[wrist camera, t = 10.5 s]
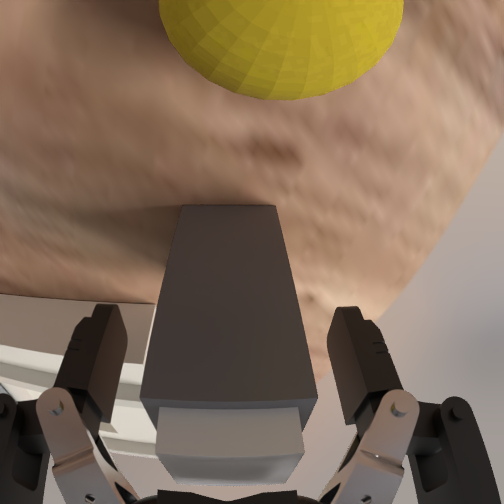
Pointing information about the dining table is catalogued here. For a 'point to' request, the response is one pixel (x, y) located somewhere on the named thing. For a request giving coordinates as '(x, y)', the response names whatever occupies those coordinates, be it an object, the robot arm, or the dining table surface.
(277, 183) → the dining table surface
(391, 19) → the lemon
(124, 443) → the socket
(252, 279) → the plug
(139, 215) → the dining table surface
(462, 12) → the dining table surface
